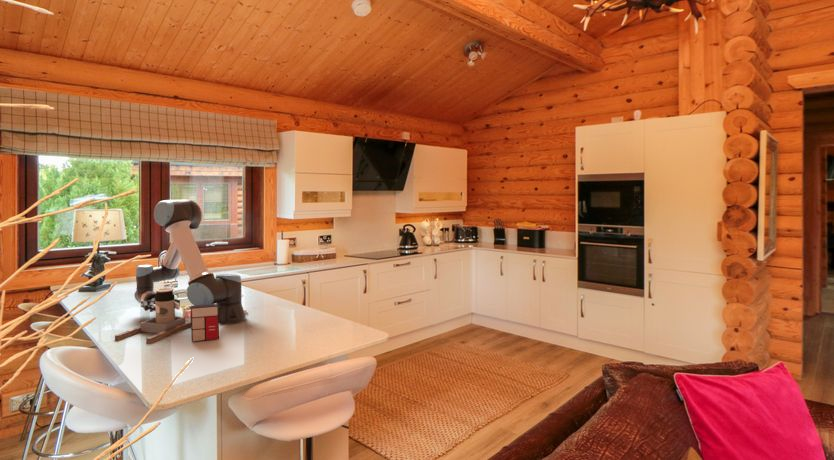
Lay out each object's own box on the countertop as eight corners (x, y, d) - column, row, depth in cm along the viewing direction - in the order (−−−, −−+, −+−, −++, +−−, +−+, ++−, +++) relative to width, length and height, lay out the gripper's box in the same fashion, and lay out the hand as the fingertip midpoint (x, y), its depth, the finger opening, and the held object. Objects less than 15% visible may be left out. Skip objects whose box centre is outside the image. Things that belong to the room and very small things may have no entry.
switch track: (191, 326, 234) (191, 321, 234) (150, 343, 209) (150, 338, 208) (158, 323, 238) (158, 319, 237) (114, 339, 212) (114, 334, 212)
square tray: (185, 325, 233) (185, 317, 233) (165, 333, 221) (165, 324, 220) (161, 323, 236) (161, 315, 236) (140, 331, 224) (140, 322, 223)
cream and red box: (191, 342, 210) (190, 308, 209) (191, 339, 214) (190, 305, 213) (219, 339, 214) (218, 305, 213) (219, 337, 218) (218, 303, 217)
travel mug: (162, 324, 234) (160, 287, 232) (178, 325, 234) (177, 287, 232) (152, 329, 226) (151, 291, 224) (169, 330, 226) (168, 291, 224)
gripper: (174, 303, 249) (192, 312, 233) (128, 310, 234) (144, 320, 219) (174, 289, 249) (191, 296, 233) (127, 295, 234) (143, 303, 218)
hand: (168, 308), depth 226 cm, fingers closed on travel mug, 8 cm apart
